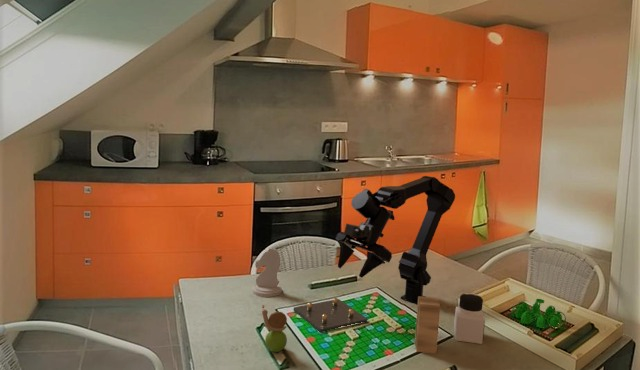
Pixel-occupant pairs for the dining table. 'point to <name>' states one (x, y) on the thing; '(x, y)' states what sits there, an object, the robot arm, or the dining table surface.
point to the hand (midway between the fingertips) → (349, 272)
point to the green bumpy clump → (550, 313)
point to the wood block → (427, 324)
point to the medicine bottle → (469, 319)
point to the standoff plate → (329, 314)
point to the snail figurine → (275, 330)
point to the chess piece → (268, 275)
